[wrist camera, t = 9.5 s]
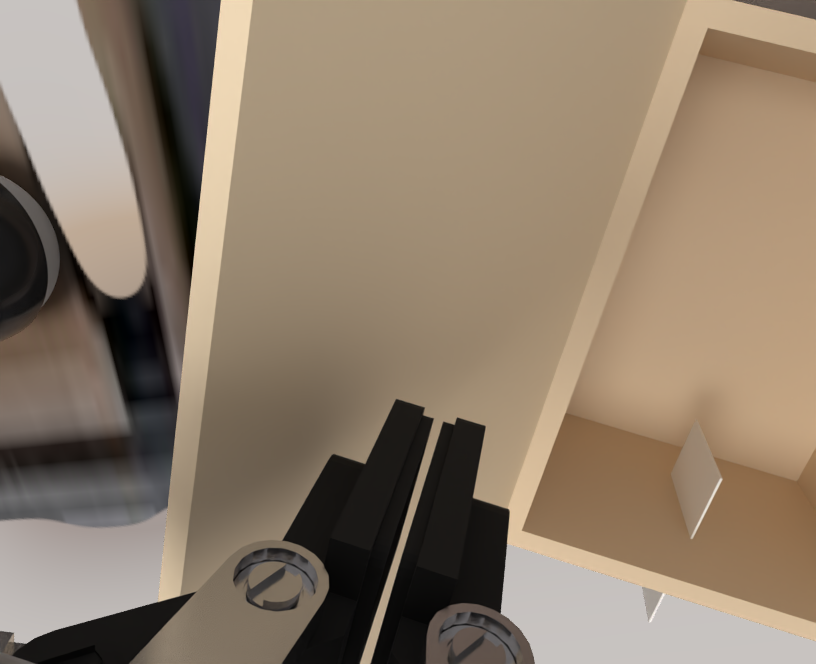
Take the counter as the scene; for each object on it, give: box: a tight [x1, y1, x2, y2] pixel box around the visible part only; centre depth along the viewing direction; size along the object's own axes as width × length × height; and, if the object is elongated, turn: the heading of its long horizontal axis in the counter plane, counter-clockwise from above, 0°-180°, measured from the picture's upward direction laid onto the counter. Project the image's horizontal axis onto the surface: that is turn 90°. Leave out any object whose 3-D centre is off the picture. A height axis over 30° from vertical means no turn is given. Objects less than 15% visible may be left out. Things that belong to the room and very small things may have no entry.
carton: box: [507, 0, 816, 641], centre depth 28 cm, size 16×24×12 cm, turn 167°
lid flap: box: [158, 0, 687, 664], centre depth 17 cm, size 16×20×1 cm
